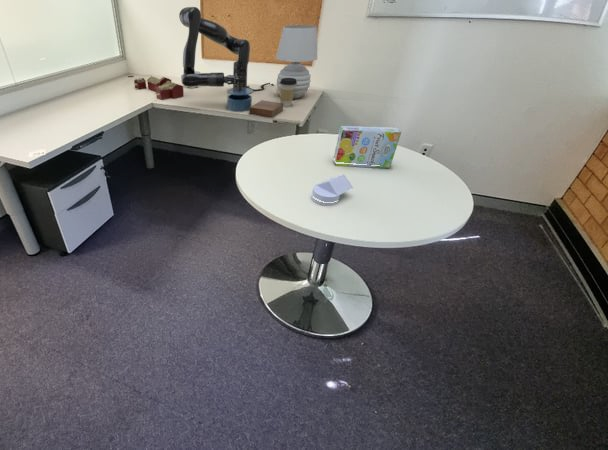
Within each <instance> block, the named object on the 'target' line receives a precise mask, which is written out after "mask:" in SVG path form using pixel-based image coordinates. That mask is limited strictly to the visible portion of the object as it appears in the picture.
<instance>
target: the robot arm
mask: <svg viewBox="0 0 608 450" xmlns="http://www.w3.org/2000/svg"><path fill="white" fill-rule="evenodd" d="M178 17H179V21H180V23H181V24H182V25H183V26H184V27H186V28H188V35H187V40H186V42H185V45H184V48H183V51H182V67H183V71H182V74H183V76H182V78H181V77H180V81H181V84H182V86H184V87H187V88H189V87H191V86H197V87H210V88H211V87H212V88H213V87H215V88H219V87H220V88H221V87H222V88H223V87H225V84H227V85H232V88H237V87H238V83H239V82H243V83H242V87H243V88H249V89H252V90H253V92H260V91H263V90H265V87H264V86H267V85H271V86H275V85H274V83H272V84H270V83H271V82H267V83H264V84H261V85H260V88H259V89H257V88H256V89H253V88H251V87H250V86H249V85H248V65H249V63H250V55H251V53H250V52H251V44H250V42H249V40H248V39H244V38H237V37H234V36H232V35H231V34H230V33H229V32H228V30H227V29H226V28H225V27H224V26H223V25H221V24H219V23H217V22H215V21H213V20H209V19H206V18H203V17H202V13H201V10H200V9H199V8H198V7H196V6H186V7H183V8H181V10H180V11H179V13H178ZM199 34H201V35H202V36H203V37H205V38H207V39H209V40H210V41H212V42H213V43H215V44H218V45H219V46H222V47H224V48H226V50H228V51H229V52H231V53H232V54H234V55H236V56H237V57H238V58H237V60H235V61H234V62H233V68H232V70H233V71H232V74H228V75H226V76H225V73H224V72H200V74H195V71H196V70H195V66H196V51H197V45H198V44H197V43H198V39H199ZM238 76H243V78H238Z"/></svg>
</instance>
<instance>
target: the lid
mask: <svg viewBox="0 0 608 450" xmlns="http://www.w3.org/2000/svg"><path fill="white" fill-rule="evenodd" d="M238 78H243V76H238ZM242 83H243V82H239V83H238V87H237V88H233V87H231V88H227V90H226V93H227V94H228V95H237V96H242V95H252V94H253V93H254V91H253V90H252V89H253V88H251V89H249V88H250V87H249V88H243V87H242Z"/></svg>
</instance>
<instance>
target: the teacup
mask: <svg viewBox="0 0 608 450" xmlns="http://www.w3.org/2000/svg"><path fill="white" fill-rule="evenodd" d="M200 73H201V71H199V70H195V74H200ZM182 76H183V73H182V74H181V76H180V79H181V78H182ZM197 87H198V86H191V87H188V88H189V89H196V88H197Z"/></svg>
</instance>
